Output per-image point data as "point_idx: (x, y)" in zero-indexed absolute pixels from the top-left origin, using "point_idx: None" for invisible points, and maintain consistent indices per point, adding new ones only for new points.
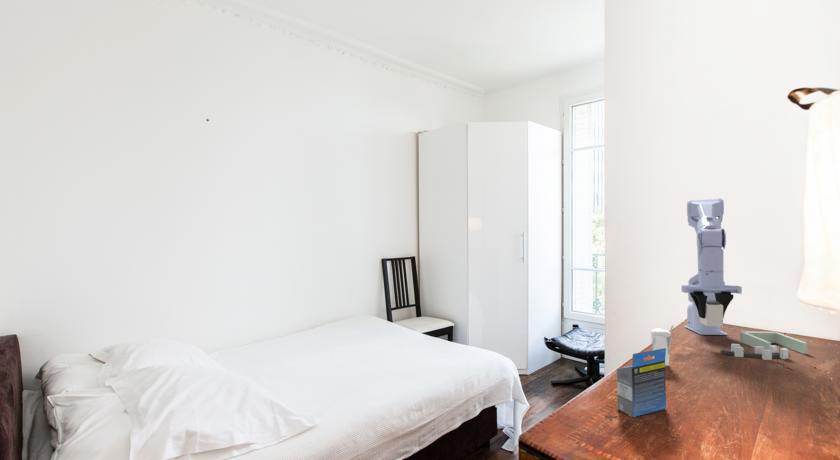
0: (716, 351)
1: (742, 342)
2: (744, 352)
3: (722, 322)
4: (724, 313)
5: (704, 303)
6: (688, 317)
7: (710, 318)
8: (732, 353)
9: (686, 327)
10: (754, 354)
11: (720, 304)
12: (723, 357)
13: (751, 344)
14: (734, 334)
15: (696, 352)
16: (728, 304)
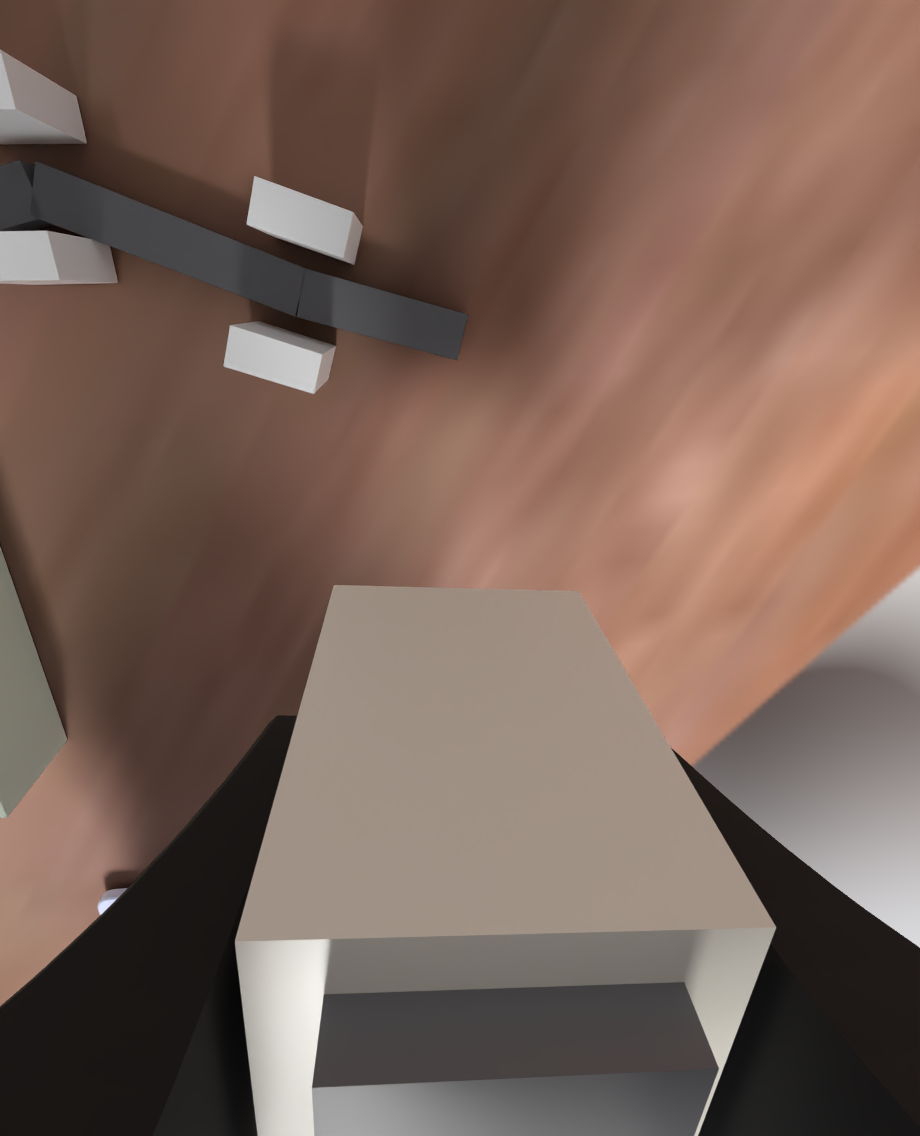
0: (465, 409)
1: (55, 710)
2: (223, 279)
3: (335, 617)
4: (231, 777)
5: (856, 1001)
6: None
7: (559, 657)
8: (361, 286)
9: None
10: (135, 202)
11: (269, 1029)
12: (514, 184)
13: (4, 609)
14: (28, 919)
15: (698, 357)
16: (4, 1005)
